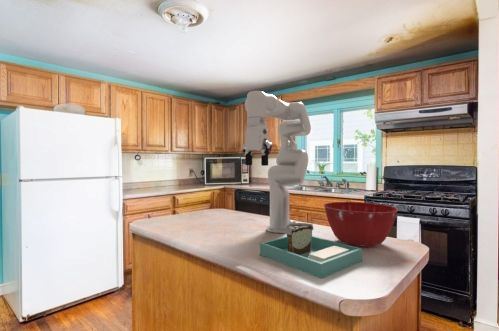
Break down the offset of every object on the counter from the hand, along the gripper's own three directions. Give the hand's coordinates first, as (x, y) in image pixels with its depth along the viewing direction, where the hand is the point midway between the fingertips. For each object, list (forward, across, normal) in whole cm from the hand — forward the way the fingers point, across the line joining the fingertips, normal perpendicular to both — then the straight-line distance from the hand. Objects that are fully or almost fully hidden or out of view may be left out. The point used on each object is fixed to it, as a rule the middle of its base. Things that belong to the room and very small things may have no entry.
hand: (256, 165), depth 115 cm
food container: (+31, -19, -1) cm, 37 cm away
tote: (+32, -26, -1) cm, 41 cm away
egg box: (+31, -34, -1) cm, 46 cm away
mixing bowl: (+32, -26, -33) cm, 53 cm away
